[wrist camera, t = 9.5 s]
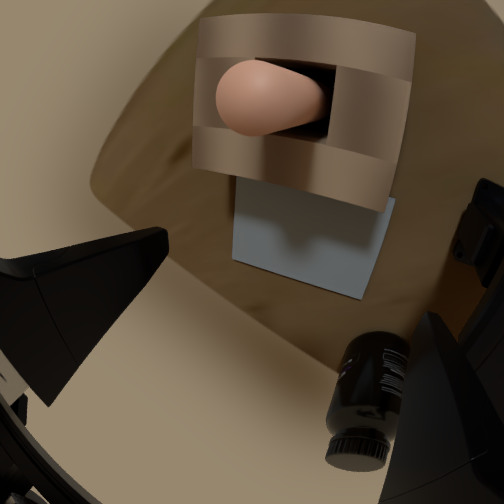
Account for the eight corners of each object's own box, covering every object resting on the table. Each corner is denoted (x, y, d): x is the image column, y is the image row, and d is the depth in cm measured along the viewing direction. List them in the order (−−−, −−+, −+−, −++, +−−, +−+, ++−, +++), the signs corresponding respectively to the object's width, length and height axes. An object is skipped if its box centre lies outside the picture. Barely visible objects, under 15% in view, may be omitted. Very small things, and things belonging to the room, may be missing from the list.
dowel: (336, 83, 16) (295, 62, 8) (330, 125, 17) (286, 142, 10) (293, 77, 17) (218, 59, 9) (288, 117, 18) (213, 131, 10)
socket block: (407, 51, 12) (416, 33, 9) (383, 188, 18) (384, 213, 14) (237, 31, 16) (199, 18, 12) (228, 152, 22) (192, 167, 18)
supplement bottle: (335, 336, 26) (297, 445, 17) (402, 320, 22) (389, 444, 13) (357, 377, 28) (329, 475, 18) (416, 367, 24) (404, 474, 14)
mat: (394, 198, 18) (395, 200, 18) (361, 297, 23) (361, 299, 22) (239, 160, 22) (237, 161, 21) (234, 256, 26) (232, 258, 26)
